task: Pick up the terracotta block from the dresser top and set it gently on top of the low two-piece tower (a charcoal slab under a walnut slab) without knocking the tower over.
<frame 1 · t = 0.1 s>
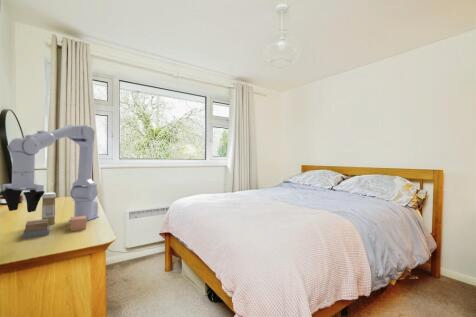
hand: (22, 210, 80), 10 cm above the table, tool pointing down, fingers open, 7 cm apart
block: (78, 228, 93), on the table
sprinkles bottle: (48, 224, 98), on the table
tower base: (37, 235, 86), on the table
tower top: (37, 228, 86), point 2 cm above the table
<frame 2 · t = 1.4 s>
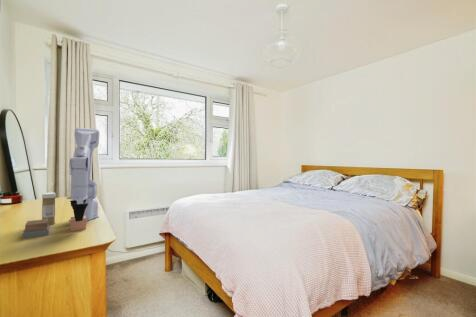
hand: (78, 218, 93), 4 cm above the table, tool pointing down, fingers open, 7 cm apart
tower base: (36, 235, 86), on the table, touching tower top
tower top: (37, 228, 86), point 2 cm above the table, touching tower base
everything else where it was.
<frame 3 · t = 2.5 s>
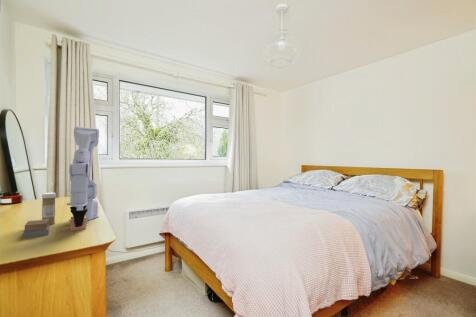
hand: (78, 224, 93), 1 cm above the table, tool pointing down, fingers closed on block, 5 cm apart
block: (78, 228, 93), on the table, touching gripper
everything else where it was.
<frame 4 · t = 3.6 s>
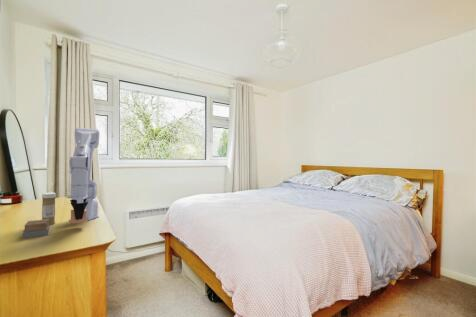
hand: (78, 217, 94), 4 cm above the table, tool pointing down, fingers closed on block, 5 cm apart
block: (78, 221, 94), point 3 cm above the table, touching gripper
everything else where it was.
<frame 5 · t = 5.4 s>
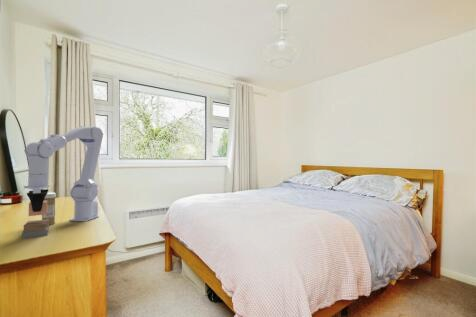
hand: (37, 210, 86), 9 cm above the table, tool pointing down, fingers closed on block, 5 cm apart
block: (38, 213, 86), point 8 cm above the table, touching gripper
everything else where it was.
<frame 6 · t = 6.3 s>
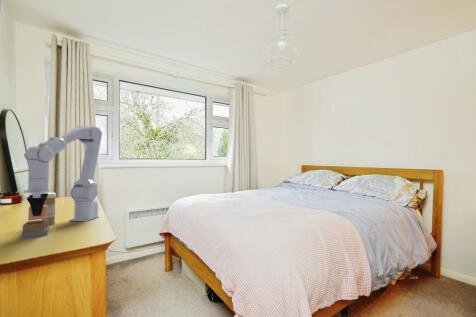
hand: (37, 214, 86), 7 cm above the table, tool pointing down, fingers closed on block, 5 cm apart
block: (38, 218, 86), point 6 cm above the table, touching gripper
everything else where it was.
when the fingers open (7 cm above the table, at t = 6.9 s): block drops 2 cm, resting on tower top.
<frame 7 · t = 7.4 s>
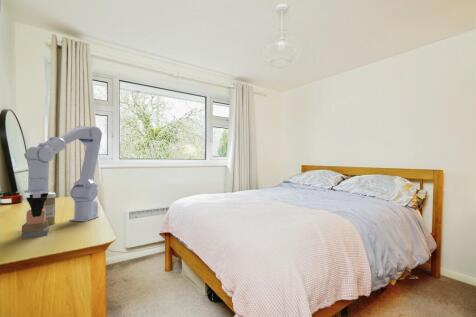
hand: (37, 214, 86), 7 cm above the table, tool pointing down, fingers open, 7 cm apart
block: (36, 222, 86), point 4 cm above the table, touching tower top
tower top: (35, 229, 85), point 2 cm above the table, touching block, tower base
everything else where it was.
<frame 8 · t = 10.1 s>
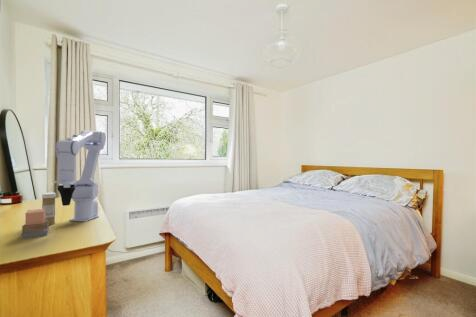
hand: (65, 203, 91), 10 cm above the table, tool pointing down, fingers open, 7 cm apart
nothing on the table moved.
at the end: block 0.2 cm off-centre on the tower base, point 5.0 cm above the tower base's base; tower top tilted 0°; the gripper is holding nothing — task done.
